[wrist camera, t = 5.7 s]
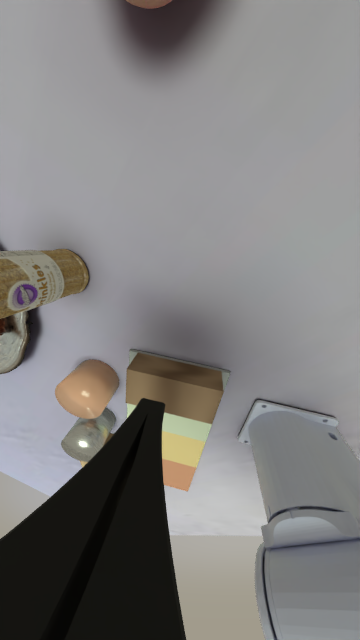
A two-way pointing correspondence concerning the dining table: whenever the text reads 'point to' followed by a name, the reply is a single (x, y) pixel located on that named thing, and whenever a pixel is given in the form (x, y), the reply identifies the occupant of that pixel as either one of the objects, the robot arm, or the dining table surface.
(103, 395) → the peach smooth rounded cylinder
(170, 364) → the brown rectangular block
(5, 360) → the food plate
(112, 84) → the dining table surface
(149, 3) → the decorative fruit
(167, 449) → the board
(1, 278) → the sprinkles bottle
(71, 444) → the tin
